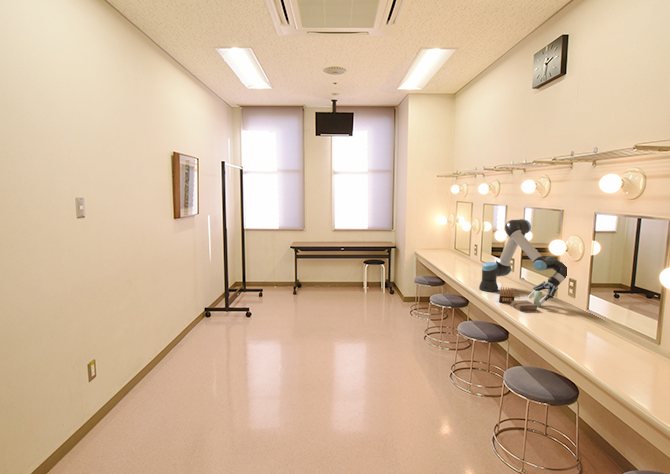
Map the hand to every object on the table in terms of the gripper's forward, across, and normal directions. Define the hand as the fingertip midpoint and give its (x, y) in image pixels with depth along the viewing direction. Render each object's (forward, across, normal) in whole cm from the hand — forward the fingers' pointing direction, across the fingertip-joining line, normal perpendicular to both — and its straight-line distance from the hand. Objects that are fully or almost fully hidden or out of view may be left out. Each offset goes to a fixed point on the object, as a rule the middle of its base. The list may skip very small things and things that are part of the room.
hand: (534, 300), depth 263 cm
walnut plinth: (+11, -4, +4) cm, 12 cm away
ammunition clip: (+15, +10, +8) cm, 19 cm away
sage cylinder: (+2, 0, -5) cm, 5 cm away
